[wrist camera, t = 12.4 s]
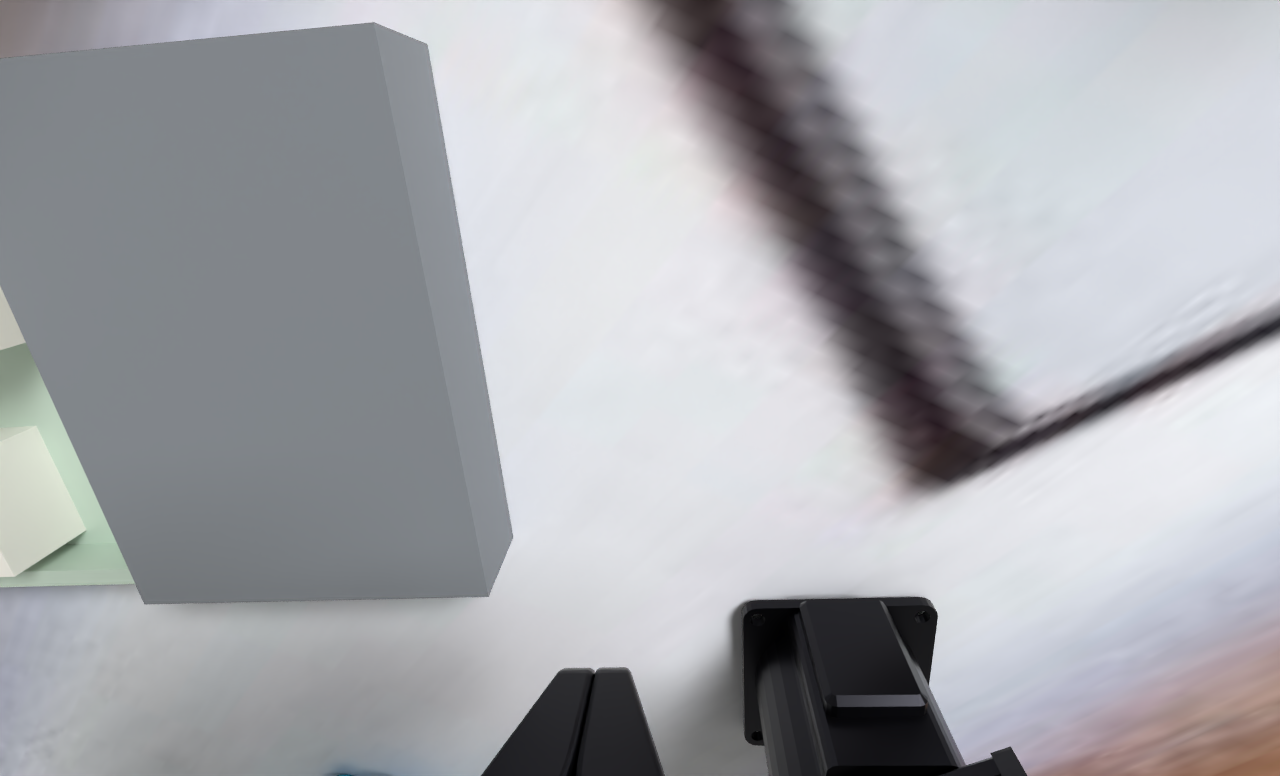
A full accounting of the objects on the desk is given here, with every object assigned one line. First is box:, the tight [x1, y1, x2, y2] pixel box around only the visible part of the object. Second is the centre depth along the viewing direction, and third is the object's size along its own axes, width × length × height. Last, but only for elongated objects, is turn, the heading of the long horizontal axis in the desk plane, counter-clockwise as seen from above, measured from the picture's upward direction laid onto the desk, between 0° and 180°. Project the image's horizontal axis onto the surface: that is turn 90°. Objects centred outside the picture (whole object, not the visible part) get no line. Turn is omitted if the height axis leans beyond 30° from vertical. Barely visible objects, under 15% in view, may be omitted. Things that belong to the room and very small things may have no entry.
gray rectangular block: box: [0, 23, 513, 604], centre depth 17 cm, size 15×11×3 cm
